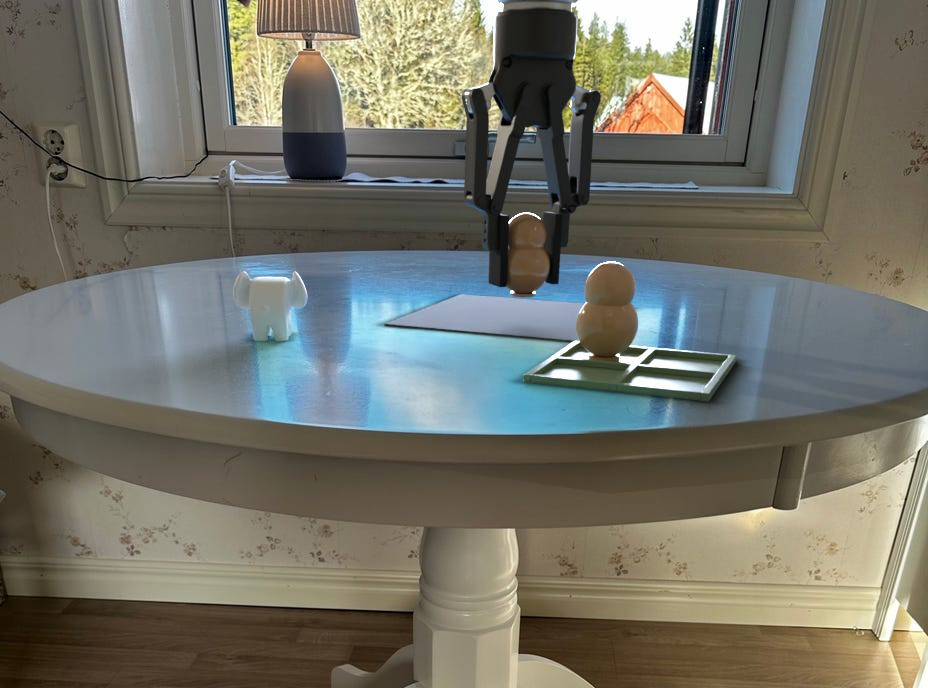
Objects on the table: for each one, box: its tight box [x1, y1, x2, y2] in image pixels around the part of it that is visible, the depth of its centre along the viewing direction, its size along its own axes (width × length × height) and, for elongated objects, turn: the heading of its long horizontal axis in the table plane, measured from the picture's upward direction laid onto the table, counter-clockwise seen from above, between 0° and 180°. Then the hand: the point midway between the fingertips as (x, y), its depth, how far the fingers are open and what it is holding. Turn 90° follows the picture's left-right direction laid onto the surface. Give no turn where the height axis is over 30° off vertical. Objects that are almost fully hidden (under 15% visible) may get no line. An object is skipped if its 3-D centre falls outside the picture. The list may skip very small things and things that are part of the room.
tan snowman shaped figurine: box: [506, 212, 550, 298], centre depth 95 cm, size 5×5×8 cm
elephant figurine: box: [232, 270, 309, 342], centre depth 88 cm, size 7×8×6 cm
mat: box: [383, 293, 585, 343], centre depth 99 cm, size 20×20×1 cm
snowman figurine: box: [576, 261, 639, 361], centre depth 79 cm, size 5×5×8 cm
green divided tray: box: [522, 341, 738, 402], centre depth 77 cm, size 14×14×1 cm
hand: (523, 283), depth 97 cm, fingers closed on tan snowman shaped figurine, 5 cm apart
